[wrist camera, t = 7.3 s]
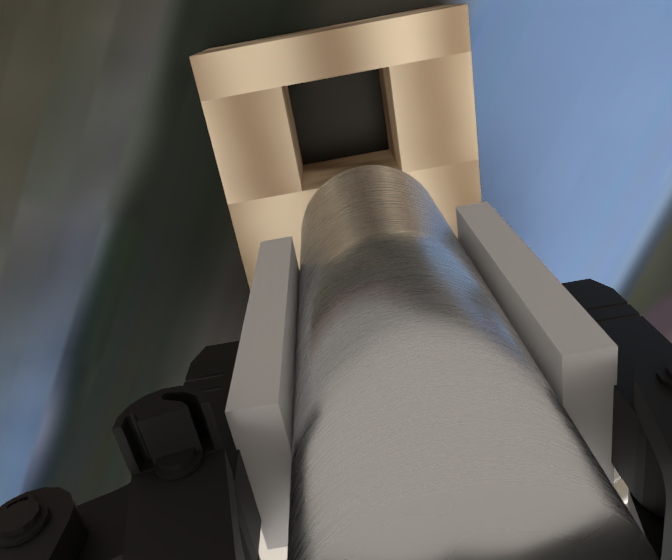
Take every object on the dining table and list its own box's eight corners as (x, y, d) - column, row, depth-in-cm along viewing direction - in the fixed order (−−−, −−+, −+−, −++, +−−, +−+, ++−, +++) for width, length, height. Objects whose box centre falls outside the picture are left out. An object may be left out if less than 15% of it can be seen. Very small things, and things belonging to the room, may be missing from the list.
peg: (288, 178, 16) (243, 524, 5) (432, 152, 16) (679, 454, 5) (315, 305, 18) (322, 762, 7) (445, 282, 18) (656, 715, 7)
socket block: (270, 301, 42) (264, 345, 37) (207, 48, 35) (189, 56, 30) (465, 267, 42) (488, 306, 36) (442, 4, 34) (467, 4, 29)
